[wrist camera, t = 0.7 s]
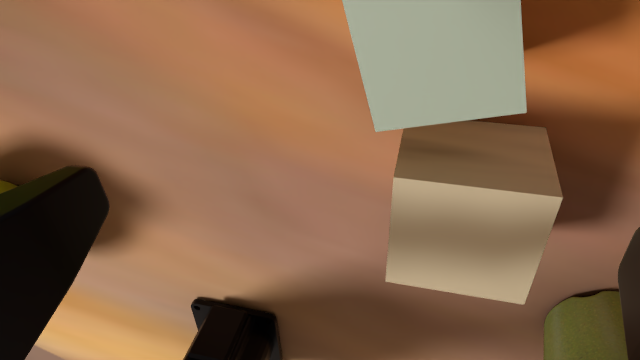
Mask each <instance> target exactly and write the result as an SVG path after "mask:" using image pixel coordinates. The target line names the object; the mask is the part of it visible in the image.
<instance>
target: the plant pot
mask: <svg viewBox="0 0 640 360" xmlns="http://www.w3.org/2000/svg"><path fill="white" fill-rule="evenodd" d="M544 360H628V356H627V348H626V340H625V332H624V325H623V317H622V309H621V301H620V293H619V292H616V291H603V292H600V293H598V294H596V295H593V296H589V297H571V298H568V299H566V300H564V301H562V302H561V303H559V304H558V305H556V306H555V307H554V308H553V309H552V310H551V311H550V312H549V313H548V315H547V317H546V319H545V322H544Z"/></svg>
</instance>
